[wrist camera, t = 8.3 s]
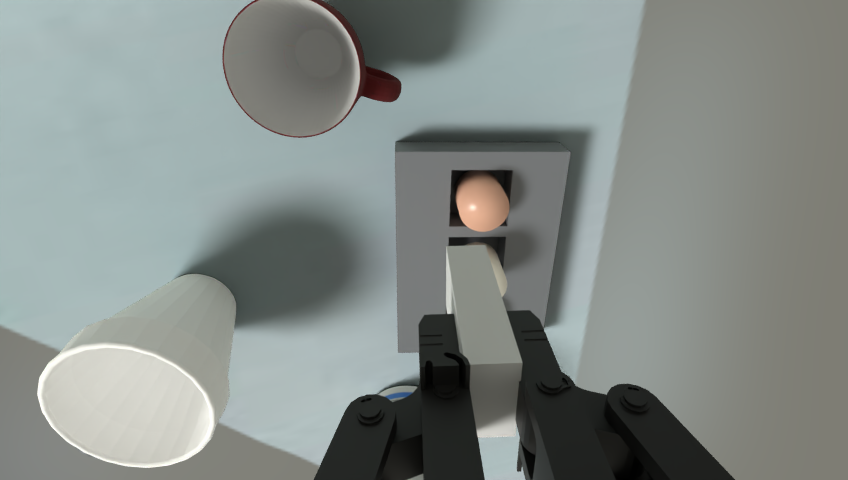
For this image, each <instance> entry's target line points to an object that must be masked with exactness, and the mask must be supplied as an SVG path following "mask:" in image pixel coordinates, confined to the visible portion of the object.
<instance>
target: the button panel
mask: <svg viewBox="0 0 848 480" xmlns="http://www.w3.org/2000/svg"><path fill="white" fill-rule="evenodd" d="M570 154H571V152H570V151H569V150H568V149H567V148H566V147H565V146H563V145H562V144H561V143H560V142H396V143H395V182H396V249H397V317H398V353H413V352H419V329H418V324H419V323H420V321H421V319H422V318H423V316H424V315H430V314H447V308H446V246H465V245H467V244H469V243H473V242H481V243H485V244H488V245H490V246H491V247H492V248H493V249H494V250H495V251H496V253H497V255H498V258H499V261H500V263H501V266H502V268H503V271H504V274H505V276H506V279H507V289H506V292H505V294H504V296H503V297H502V299H503V302H504V306H505V309H506V311H519V310H530V311H531V312H532V313H533V314H534V315H535V316H537V317H538V318H539V319H540V321H541V324H542V326H543V329H544V323H545V316H546V310H547V303H548V297H549V290H550V284H551V277H552V271H553V264H554V258H555V251H556V245H557V238H558V232H559V225H560V219H561V212H562V206H563V199H564V193H565V186H566V180H567V173H568V167H569V160H570ZM470 170H487V171H489V172H491V173H492V174H494V175H495V176H496V178H497V179H498V181H499V183H500V185H501V187H502V188H503V190H504V192H505V194H506V196H507V198H508V200H509V213H508V216H507V218H506V219H505V221H504V222H503V223H502V224H501V225H500V226H499V227H497V228H495V229H493V230H490V231H486V232H479V231H475V230H472V229H470V228H468V227H467V226H466V225H465V224H464V223H463V221H462V220H461V217H460V214H459V211H458V207H457V203H456V199H455V195H454V189H455V185H456V183H457V181H458V179H459V178H460V177H461V176H462V175H463V174H464V173H466V172H468V171H470Z"/></svg>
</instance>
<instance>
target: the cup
mask: <svg viewBox="0 0 848 480" xmlns="http://www.w3.org/2000/svg"><path fill="white" fill-rule="evenodd" d="M235 318H236V301H235V299H234V296H233V294H232V293H231V291H230V290H229V289H228V288H227V287H226V286H225V285H224V284H223V283H221V282H220V281H218V280H216V279H215V278H212V277H209V276H206V275H202V274H187V275H183V276H180V277H178V278H176V279H174V280H172V281H171V282H169V283H167V284H166V285H164V286H162V287H161V288H159V289H157V290H156V291H154V292H152V293H151V294H149V295H147V296H145V297H144V298H142V299H140V300H139V301H137V302H135V303H134V304H132V305H130V306H129V307H127V308H125V309H124V310H122V311H120V312H119V313H117V314H115V315H114V316H112V317H110V318H109V319H104V320H102V321H99V322H96V323H94V324H91V325H88V326H87V327H85V328H84V329H83V330H81V331H80V332H79V333H78V334H76V335H75V336H74V337H73V338H72V339H71V340H70V341H69V343H68V344H67V345H66V346H65V347H64V349H63V350H62V351H61V352H60V353H59V355H58V356H57V357H55V358H54V359H53V360H51V361H50V362H49V363H48V365H47V366H46V368H45V370H44V371H43V373H42V375H41V376H40V379H39V386H38V394H37V395H38V399H39V402H40V406H41V409H42V412H43V414H44V416H45V417H46V419H47V420H48V422H49V423H50V425H51V426H52V428H53V429H54V430H55V431H56V432H58V433H59V434H60V435H61V436H62V437H63V438H64V439H65V440H66V441H67V442H69V443H70V444H72V445H73V446H75V447H77V448H78V449H80V450H81V451H83V452H84V453H87V454H89V455H92V456H94V457H96V458H99V459H101V460H104V461H107V462H111V463H116V464H119V465H124V466H132V467H146V468H149V467H158V466H167V465H171V464H174V463H177V462H180V461H184V460H187V459H188V458H190V457H191V456H193V455H195V454H196V453H197V452H199V451H201V450H202V449H203V448H204V446H205V445H206V444H207V443H208V442H209V440H210V439H211V438H212V436H213V433H214V430H215V427H216V425H217V423H218V421H219V419H220V418H221V416H222V414H223V412H224V410H225V407H226V405H227V402H228V399H229V380H228V371H229V363H230V356H231V348H232V341H233V333H234V326H235Z"/></svg>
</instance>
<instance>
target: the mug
mask: <svg viewBox="0 0 848 480" xmlns="http://www.w3.org/2000/svg"><path fill="white" fill-rule="evenodd" d="M223 69H224V74H225V78H226V81H227V84H228V86H229V89H230V91H231V93H232V95H233V97H234V98H235V100H236V102H237V103H238V104H239V106H240V107H241V108H242V110H243V111H244V112H245V113H246V114H247V115H248V116H249V117H250V118H251V119H253V120H254V121H255V122H256V123H258V124H259V125H261V126H262V127H264V128H266V129H268V130H270V131H272V132H274V133H277V134H280V135H284V136H288V137H298V138H301V137H312V136H316V135H319V134H322V133H325V132H327V131H329V130H331V129H332V128H334V127H336V126H337V125H338V124H339V123H341V122H342V121H343V120H344V119H345V118H346V116H347V115H348V114H349V113H350V111H351V110H352V108H353V107H354V105H355V104H356V102H357V101H358V99H359V98H360V97H361V96H364V97H367V98H370V99H373V100H377V101H383V102H393V101H395V100H397V98H398V97H399V95H400V93H401V82H400V81H399V79H397V78H396V77H394V76H393V75H391V74H389V73H387V72H384V71H381V70H378V69H375V68H371V67H367V66H365V60H364V55H363V51H362V47H361V44H360V41H359V39H358V37H357V35H356V33H355V31H354V29H353V28H352V26H351V25H350V23H349V22H348V21H347V20H346V18H345V17H344V16H343V15H342V14H341V13H340V12H339V11H337V10H336V9H335V8H334V7H332V6H331V5H329V4H328V3H326V2H324V1H322V0H255V1H253V2H251V3H250V4H248V5H247V6H246V7H244V8H243V9H242V10H241V11H240V12H239V13H238V15H237V16H236V17H235V18H234V20H233V21H232V23H231V25H230V27H229V29H228V31H227V34H226V37H225V41H224V46H223Z"/></svg>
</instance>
